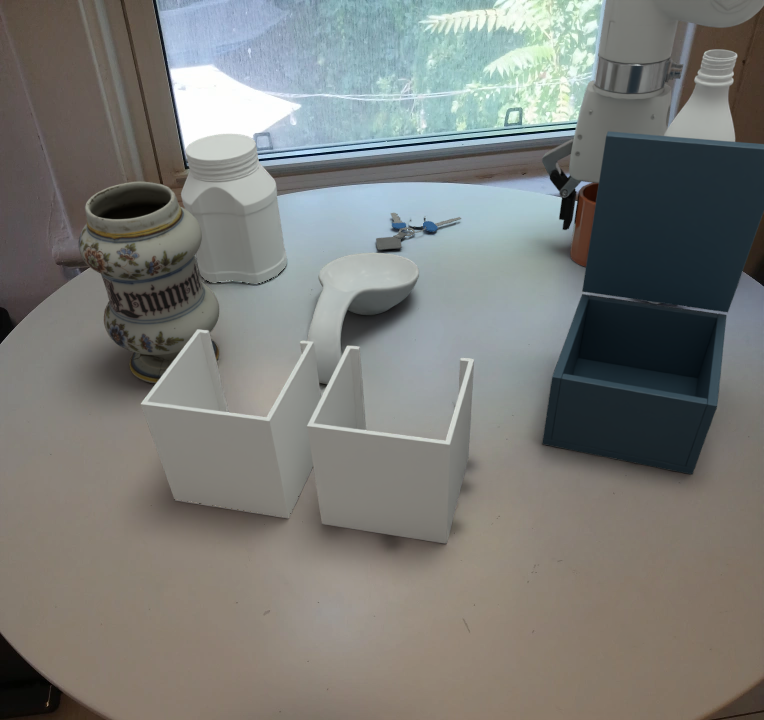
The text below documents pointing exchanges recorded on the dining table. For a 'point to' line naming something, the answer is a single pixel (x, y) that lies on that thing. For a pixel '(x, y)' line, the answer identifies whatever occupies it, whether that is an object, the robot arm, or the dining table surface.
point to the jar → (233, 210)
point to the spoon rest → (355, 298)
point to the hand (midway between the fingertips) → (602, 229)
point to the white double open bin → (306, 448)
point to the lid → (674, 219)
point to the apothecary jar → (148, 273)
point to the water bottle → (708, 102)
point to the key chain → (398, 224)
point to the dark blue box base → (636, 382)
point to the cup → (583, 223)
